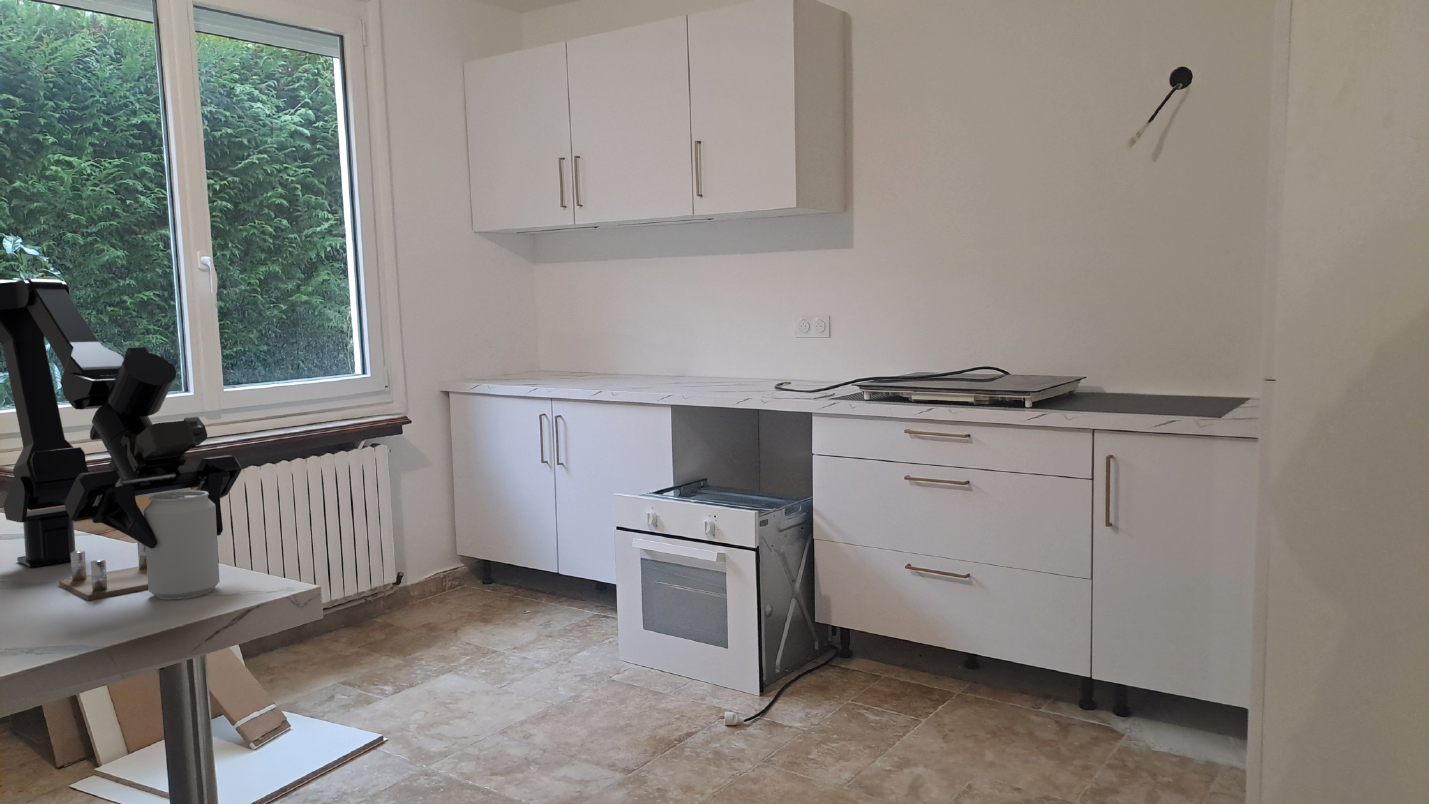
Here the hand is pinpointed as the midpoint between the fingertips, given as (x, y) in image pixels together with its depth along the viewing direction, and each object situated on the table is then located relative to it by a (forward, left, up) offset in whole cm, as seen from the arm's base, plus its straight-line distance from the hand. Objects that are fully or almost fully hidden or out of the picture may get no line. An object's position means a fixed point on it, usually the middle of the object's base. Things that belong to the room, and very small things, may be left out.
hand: (188, 539), depth 115 cm
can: (-1, 0, -7) cm, 7 cm away
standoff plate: (-12, -3, -7) cm, 14 cm away
